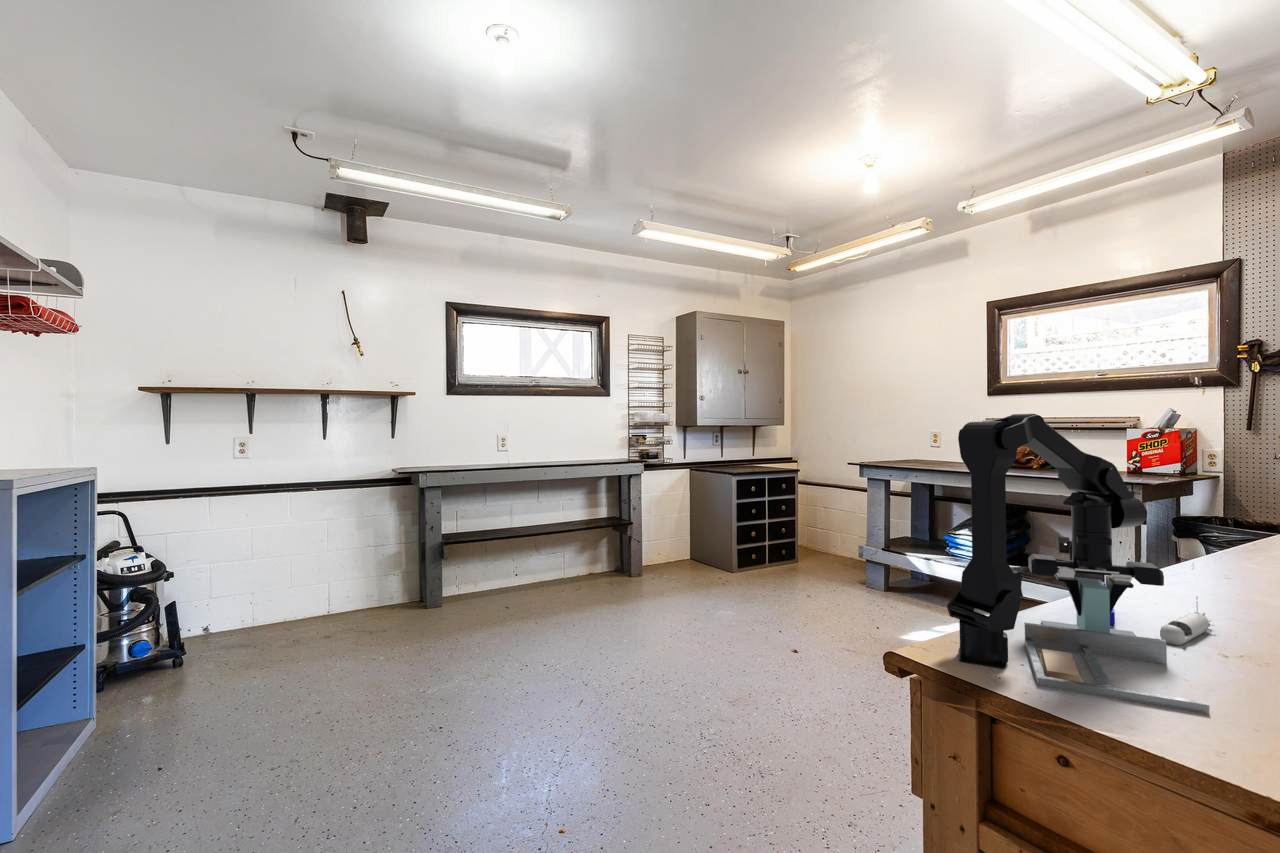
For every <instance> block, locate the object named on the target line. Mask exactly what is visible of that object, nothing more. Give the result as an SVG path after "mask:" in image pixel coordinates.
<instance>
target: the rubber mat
mask: <svg viewBox="0 0 1280 853" xmlns="http://www.w3.org/2000/svg"><path fill="white" fill-rule="evenodd" d="M1040 621H1041V622H1040V623H1041V625H1049V626H1057V627H1065V628H1073V629H1079V628H1078V626H1077V623H1076V624H1075V623H1073V624H1072V623H1068V622H1067V623H1065V622H1057V621H1049V620H1040ZM1110 633H1113V634H1121V635H1129V636H1137V635H1136V634H1135V632H1133V631H1132V630H1122V629H1115V628H1110Z"/></svg>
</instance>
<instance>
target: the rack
mask: <svg viewBox="0 0 1280 853" xmlns="http://www.w3.org/2000/svg"><path fill="white" fill-rule="evenodd" d="M1023 623H1024V627H1023V628H1024V645H1025V649H1026V652H1027V655H1028V658H1029V662H1030V665H1031V668H1032V673H1033V674H1034V678H1035V681H1036V685H1037V686H1038V687H1040V688H1041V687H1042V688H1049V689H1055V690H1060V691H1064V692H1065V691H1066V692H1073V693H1078V694H1085V695H1089V696H1096V697H1102V698H1109V699H1115V700H1120V701H1127V702H1131V703H1138V704H1145V705H1150V706H1157V707H1162V708H1169V709H1175V710H1181V711H1187V712H1193V713H1199V714H1205V715H1210V705H1209V703H1208V702H1207V701H1202V700H1196V699H1188V698H1182V697H1179V696H1178V697H1176V696H1170V695H1163V694H1158V693H1152V692H1151V693H1150V692H1146V691H1145V692H1144V691H1139V690H1135V689H1134V690H1133V689H1128V688H1127V689H1126V688H1119V687H1114V686H1113V685H1112V684H1111V682H1110V680H1109V678H1108V677H1107V675H1106V674H1105V672H1104V670H1103V668H1102V666H1101V664H1100V663H1099V661H1098V660H1097V658H1096V657H1095V656H1097V657H1098V656H1099V657H1107V658H1114V659H1121V660H1128V661H1134V662H1135V661H1136V662H1142V663H1148V664H1149V663H1150V664H1156V665H1164V666H1167V665H1168V661H1167V660H1168V659H1167V658H1168V655H1167V648H1168V646H1167V643H1166V641H1165V640H1162V639H1161V638H1151V637H1145V636H1137V635H1136V636H1129V635H1121V634H1113V633H1105V632H1097V631H1089V630H1081V629H1073V628H1065V627H1057V626H1049V625H1042V623H1041V624H1039V623H1033V622H1031V623H1030V622H1023ZM1036 648H1041V649H1047V650H1054V651H1061V652H1068V653H1079V654H1082V656H1083V659H1084V660H1085V662H1086V664H1087V665H1088V667H1089V670H1090V671H1091V673H1092V675H1093V677H1094V679H1095V681H1096V682H1097V684H1094V683H1089V682H1084V681H1083V682H1084V683H1083V682H1077V681H1071V680H1065V679H1058V678H1052V677H1047V675H1046V674H1045V673H1044V669H1043V666H1042V663H1041V660H1040V657H1039V655H1038V652H1037V650H1036Z"/></svg>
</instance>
